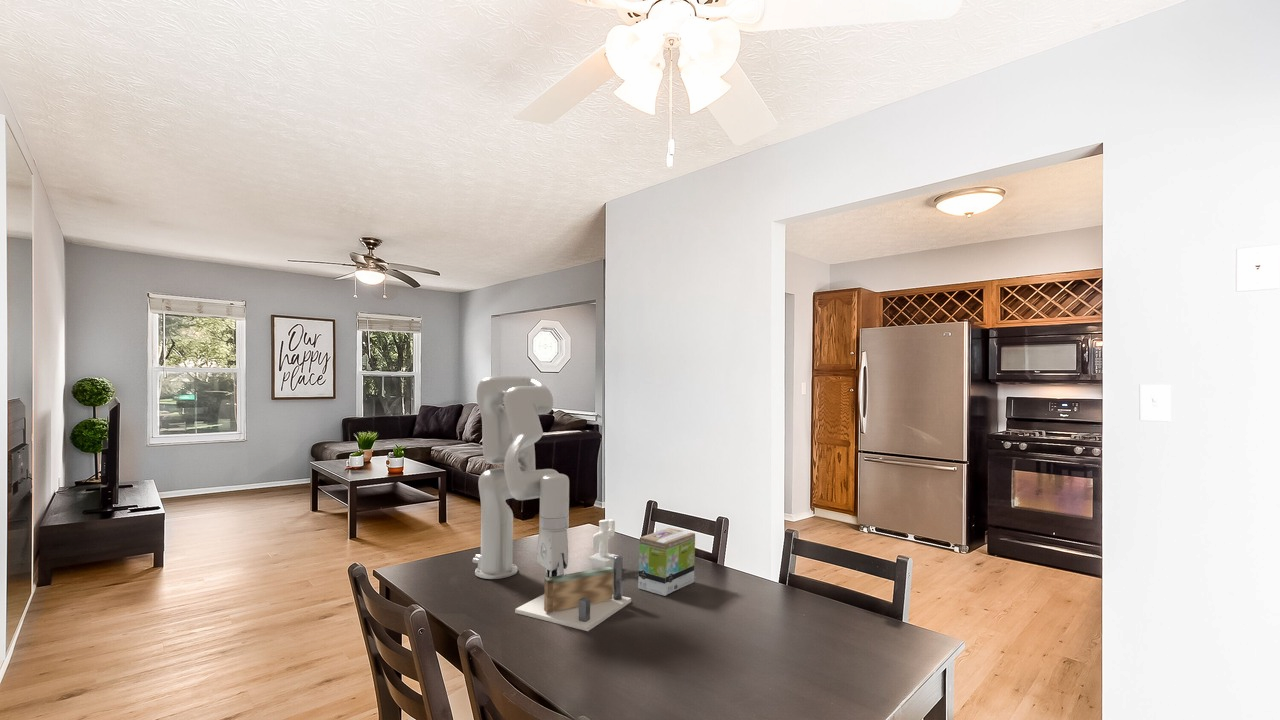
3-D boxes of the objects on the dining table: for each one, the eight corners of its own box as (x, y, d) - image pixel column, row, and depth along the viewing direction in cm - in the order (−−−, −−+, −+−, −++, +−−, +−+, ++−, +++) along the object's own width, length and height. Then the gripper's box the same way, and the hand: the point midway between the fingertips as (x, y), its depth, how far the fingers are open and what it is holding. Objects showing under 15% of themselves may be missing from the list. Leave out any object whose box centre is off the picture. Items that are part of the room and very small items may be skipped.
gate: (609, 596, 158) (609, 566, 159) (612, 599, 157) (613, 568, 157) (544, 610, 149) (544, 578, 149) (547, 613, 147) (547, 580, 147)
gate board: (515, 612, 151) (515, 608, 151) (563, 587, 169) (563, 583, 169) (587, 631, 140) (587, 627, 140) (630, 601, 159) (631, 598, 159)
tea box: (666, 597, 162) (666, 543, 163) (637, 589, 169) (637, 536, 169) (695, 582, 174) (695, 531, 175) (667, 575, 180) (667, 526, 181)
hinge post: (577, 624, 144) (578, 574, 144) (615, 599, 160) (616, 555, 160) (586, 626, 143) (586, 576, 143) (623, 601, 159) (624, 556, 159)
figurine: (584, 569, 185) (585, 521, 185) (603, 562, 192) (604, 515, 193) (603, 574, 180) (603, 524, 181) (621, 566, 188) (622, 518, 189)
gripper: (529, 517, 158) (528, 587, 158) (552, 530, 145) (550, 606, 145) (555, 514, 162) (554, 582, 162) (579, 527, 149) (578, 600, 149)
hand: (552, 593), depth 153 cm, fingers closed
